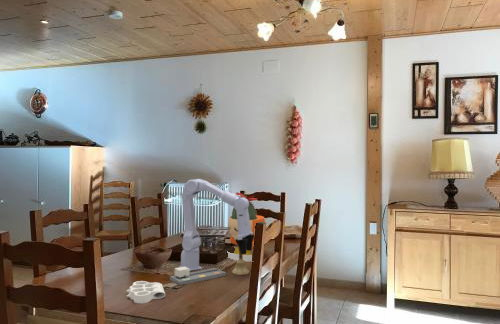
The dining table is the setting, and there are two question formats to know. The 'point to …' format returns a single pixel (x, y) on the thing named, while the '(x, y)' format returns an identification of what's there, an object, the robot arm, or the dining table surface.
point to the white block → (182, 272)
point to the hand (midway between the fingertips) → (246, 252)
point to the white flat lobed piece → (145, 291)
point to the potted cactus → (234, 228)
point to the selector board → (198, 276)
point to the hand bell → (240, 266)
